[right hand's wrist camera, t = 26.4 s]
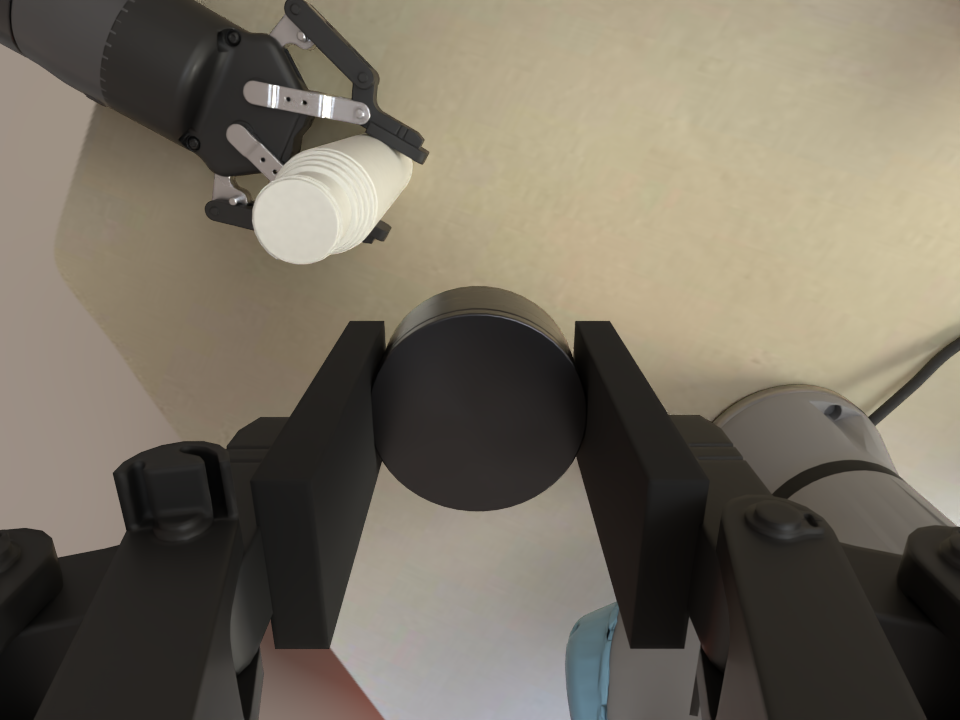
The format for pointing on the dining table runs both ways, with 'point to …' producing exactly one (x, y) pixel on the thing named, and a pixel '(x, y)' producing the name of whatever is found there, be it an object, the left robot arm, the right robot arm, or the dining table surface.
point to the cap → (478, 400)
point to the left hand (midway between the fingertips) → (404, 196)
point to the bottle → (329, 198)
